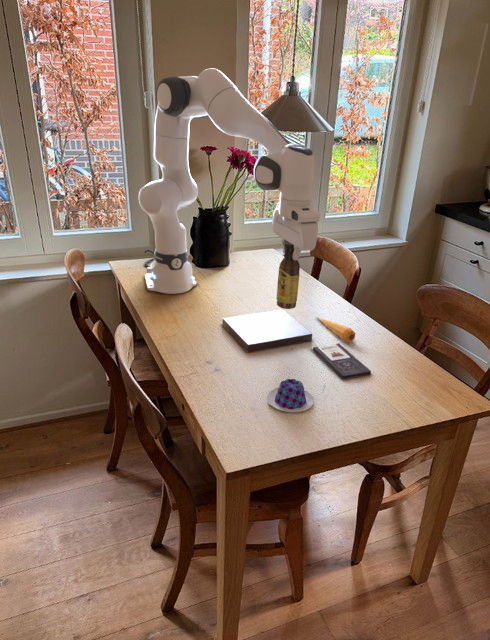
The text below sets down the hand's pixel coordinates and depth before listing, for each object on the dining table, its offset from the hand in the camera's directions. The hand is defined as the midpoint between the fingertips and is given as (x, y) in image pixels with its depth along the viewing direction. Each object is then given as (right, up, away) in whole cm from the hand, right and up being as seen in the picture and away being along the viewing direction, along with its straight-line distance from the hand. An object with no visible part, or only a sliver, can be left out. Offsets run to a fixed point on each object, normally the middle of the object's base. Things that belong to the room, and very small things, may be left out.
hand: (290, 256), depth 155 cm
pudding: (-1, -41, -18) cm, 45 cm away
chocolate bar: (+15, -31, +1) cm, 34 cm away
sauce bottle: (-1, -14, +8) cm, 16 cm away
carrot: (+15, -20, +20) cm, 32 cm away
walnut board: (-7, -21, +15) cm, 27 cm away
